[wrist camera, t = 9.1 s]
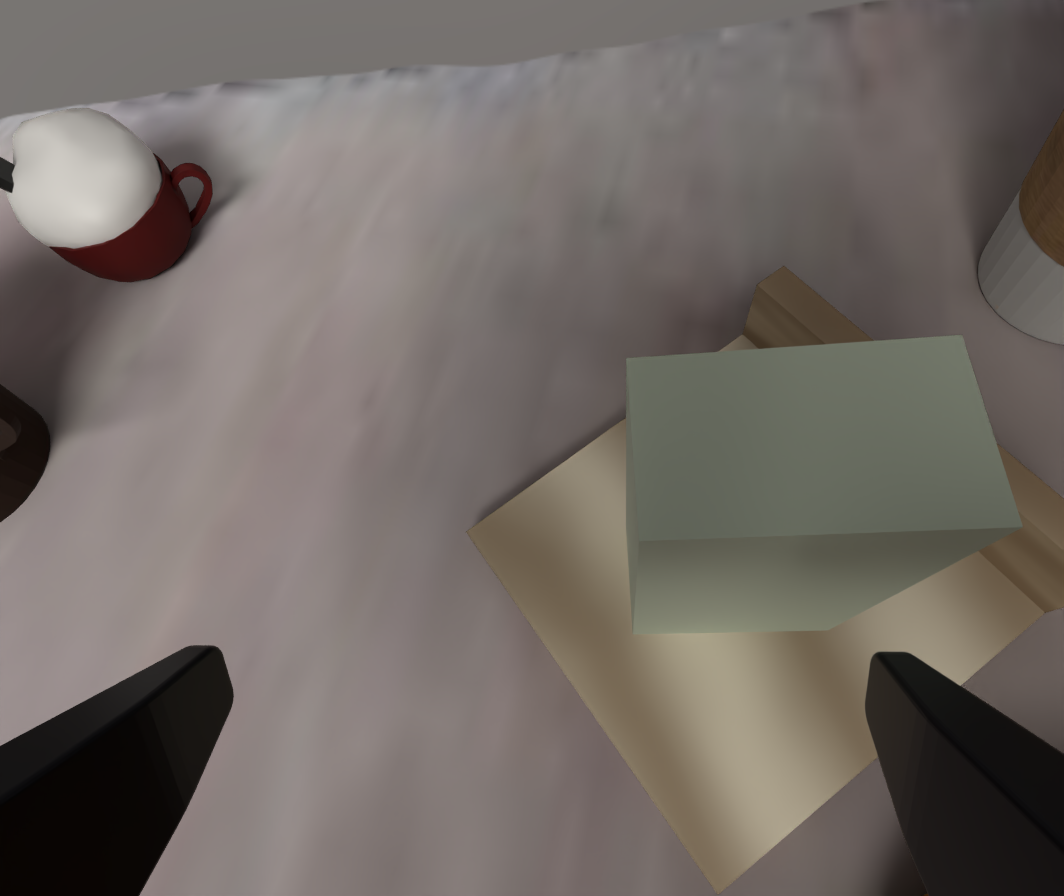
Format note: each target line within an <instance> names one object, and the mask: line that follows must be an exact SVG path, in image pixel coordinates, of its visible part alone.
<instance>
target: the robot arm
mask: <svg viewBox="0 0 1064 896" xmlns="http://www.w3.org/2000/svg"><path fill="white" fill-rule="evenodd" d="M233 697H234V695H233V687H232V684H231V681H230V677H229V674H228V670H227V667H226V664H225V660H224V657H223V654H222V651H221V650H220V649H219V648H218V647H216V646H212V645H193V646H188V647H185V648H183V649H181V650H180V651H178V652H176V653H174V654H172V655H170V656H168V657H166V658H165V659H163V660H161V661H159V662H157V663H155V664H153V665H151V666H150V667H148V668H146V669H144V670H142V671H140V672H138V673H136V674H134V675H133V676H131V677H129V678H127V679H125V680H123V681H121V682H119V683H118V684H116V685H114V686H112V687H110V688H108V689H106V690H104V691H103V692H101V693H99V694H97V695H95V696H93V697H91V698H89V699H88V700H86V701H84V702H82V703H80V704H78V705H76V706H74V707H73V708H71V709H69V710H67V711H65V712H63V713H61V714H59V715H58V716H56V717H54V718H52V719H50V720H48V721H46V722H44V723H42V724H41V725H39V726H37V727H35V728H33V729H31V730H29V731H27V732H26V733H24V734H22V735H20V736H18V737H16V738H14V739H12V740H11V741H9V742H7V743H5V744H3V745H1V746H0V896H139V895H140V893H141V892H142V890H143V888H144V886H145V884H146V882H147V881H148V879H149V877H150V875H151V873H152V872H153V870H154V868H155V866H156V864H157V863H158V861H159V859H160V857H161V855H162V854H163V852H164V850H165V848H166V846H167V844H168V843H169V841H170V839H171V837H172V835H173V834H174V832H175V830H176V828H177V826H178V824H179V822H180V821H181V819H182V817H183V815H184V813H185V811H186V809H187V807H188V805H189V803H190V800H191V798H192V796H193V794H194V792H195V790H196V788H197V785H198V783H199V781H200V778H201V776H202V774H203V772H204V769H205V767H206V765H207V762H208V760H209V758H210V756H211V753H212V751H213V749H214V747H215V744H216V742H217V740H218V737H219V735H220V733H221V731H222V728H223V726H224V724H225V721H226V719H227V717H228V715H229V712H230V710H231V707H232V704H233ZM865 714H866V720H867V723H868V726H869V730H870V733H871V736H872V739H873V742H874V745H875V748H876V752H877V755H878V758H879V761H880V764H881V767H882V771H883V774H884V777H885V780H886V783H887V786H888V789H889V793H890V796H891V799H892V802H893V805H894V808H895V811H896V815H897V818H898V821H899V824H900V827H901V830H902V833H903V835H904V838H905V841H906V844H907V846H908V848H909V851H910V853H911V856H912V858H913V861H914V863H915V865H916V868H917V870H918V872H919V875H920V877H921V879H922V881H923V884H924V886H925V888H926V890H927V893H928V895H929V896H1064V754H1063V753H1062V752H1060V751H1059V750H1057V749H1056V748H1054V747H1053V746H1051V745H1050V744H1048V743H1047V742H1045V741H1044V740H1042V739H1041V738H1039V737H1037V736H1036V735H1034V734H1033V733H1031V732H1030V731H1028V730H1027V729H1025V728H1024V727H1022V726H1021V725H1019V724H1018V723H1016V722H1015V721H1013V720H1012V719H1010V718H1009V717H1007V716H1006V715H1004V714H1002V713H1001V712H999V711H998V710H996V709H995V708H993V707H992V706H990V705H989V704H987V703H986V702H984V701H983V700H981V699H980V698H978V697H977V696H975V695H974V694H972V693H970V692H969V691H967V690H966V689H964V688H963V687H961V686H960V685H958V684H957V683H955V682H954V681H952V680H951V679H949V678H948V677H946V676H945V675H943V674H942V673H940V672H939V671H937V670H935V669H934V668H932V667H931V666H929V665H928V664H926V663H925V662H923V661H922V660H920V659H919V658H917V657H916V656H914V655H912V654H910V653H908V652H887V651H879V652H876V653H875V654H873V656H872V658H871V661H870V667H869V674H868V682H867V689H866V696H865Z"/></svg>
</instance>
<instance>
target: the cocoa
mask: <svg viewBox="0 0 1064 896" xmlns="http://www.w3.org/2000/svg"><path fill="white" fill-rule="evenodd" d="M12 137H13V164H12V163H10V162H8V161H7V160H5V159H3V158H1V157H0V188H1V189H3V190H5V193H6V195H7V197H8V199H9V202H10V204H11V206H12V209H13V211H14V213H15V215H16V218H17V220H18V222H19V223H20V224H21V225H22V226H23V227H24V228H25V229H26V230H27V231H28V232H29V233H30V234H31V235H32V236H34V237H35V238H36V239H38V240H39V241H40V242H42V243H43V244H44V245H46V246H48V247H50V248H51V249H52V250H53V251H55V252H56V253H57V254H59V255H60V256H61V257H62V258H64V259H65V260H66V261H68V262H70V263H71V264H73V265H75V266H77V267H79V268H80V269H82V270H84V271H86V272H88V273H91V274H93V275H95V276H97V277H100V278H105V279H109V280H114V281H119V282H134V281H139V280H144V279H149V278H152V277H154V276H155V275H157V274H159V273H161V272H162V271H164V270H166V269H168V268H169V267H171V266H172V264H173V263H174V262H175V261H176V260H177V259H178V258H179V257H180V256H181V255H182V254H183V252H184V251H185V249H186V246H187V243H188V241H189V238H190V235H191V229H192V228H193V227H195V226H196V225H197V224H198V223H199V221H200V220H201V218H202V217H203V215H204V214H205V213H206V211H207V209H208V206H209V204H210V201H211V198H212V182H211V179H210V177H209V175H208V174H207V172H206V171H205V170H204V169H203V168H202V167H200V166H198V165H195V164H193V163H184V164H180V165H179V166H177V167H176V168H174V169H173V170H172V172H170V170H169V169H168V168H167V166H166V165H165V164H164V162H163V161H162V160H161V159H160V158H159V157H158V156H156V155H155V154H154V153H153V152H152V151H151V150H150V149H149V148H148V147H147V146H146V145H145V144H144V143H143V142H142V141H141V140H140V139H139V138H138V137H137V136H136V135H135V134H134V133H133V132H131V131H130V130H129V129H128V128H127V127H125V126H124V125H123V124H121V123H120V122H118V121H117V120H116V119H114V118H113V117H111V116H110V115H109V114H106V113H102V112H99V111H96V110H93V109H89V108H72V109H67V110H61V111H57V112H53V113H49V114H45V115H42V116H39V117H36V118H33V119H30V120H27V121H24V122H22V123H21V124H20V126H19V127H18V129H17V130H16V132H15V133H14V135H13V136H12ZM190 176H193V177H196V178H199V179H200V180H201V181H202V182H203V184H204V190H203V192H202V194H201V197H200V199H199V201H198V203H197V205H196V207H195V208H194V209H193V210H192V211H191V212H190V213H189V208H188V205H187V202H186V200H185V197H184V195H183V193H182V191H181V189H180V187H179V185H178V184H179V182H180V181H181V180H182V179H183V178H184V177H190Z"/></svg>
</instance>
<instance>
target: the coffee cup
mask: <svg viewBox="0 0 1064 896" xmlns="http://www.w3.org/2000/svg"><path fill="white" fill-rule="evenodd" d="M978 279H979V283H980V287H981V290H982V292H983V294H984V296H985V298H986V300H987V302H988V303H989V304H990V305H991V307H992V308H993V309H994V311H995V312H996V313H997V314H998V315H1000V316H1001V317H1002V318H1003V319H1004V320H1005V321H1006V322H1007V323H1009V324H1011V325H1012V326H1014V327H1015V328H1017V329H1018V330H1020V331H1022V332H1024V333H1026V334H1028V335H1031V336H1033V337H1035V338H1037V339H1041V340H1044V341H1048V342H1051V343H1055V344H1061V345H1064V110H1063V112H1062V114H1061V115H1060V117H1059V119H1058V121H1057V122H1056V124H1055V126H1054V128H1053V130H1052V131H1051V133H1050V135H1049V137H1048V138H1047V140H1046V142H1045V144H1044V146H1043V147H1042V149H1041V151H1040V153H1039V154H1038V156H1037V158H1036V160H1035V161H1034V163H1033V165H1032V167H1031V169H1030V170H1029V172H1028V174H1027V176H1026V177H1025V179H1024V181H1023V184H1022V187H1021V189H1020V190H1019V192H1018V194H1017V195H1016V197H1015V199H1014V200H1013V202H1012V204H1011V205H1010V207H1009V208H1008V210H1007V212H1006V213H1005V215H1004V217H1003V218H1002V220H1001V222H1000V223H999V225H998V227H997V228H996V230H995V232H994V233H993V235H992V237H991V238H990V240H989V242H988V243H987V245H986V247H985V248H984V250H983V252H982V255H981V258H980V261H979V264H978Z"/></svg>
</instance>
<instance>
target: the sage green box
mask: <svg viewBox="0 0 1064 896" xmlns="http://www.w3.org/2000/svg"><path fill="white" fill-rule="evenodd" d="M1022 527H1023V525H1022V522H1021V519H1020V516H1019V513H1018V510H1017V507H1016V503H1015V500H1014V497H1013V494H1012V491H1011V488H1010V485H1009V481H1008V478H1007V475H1006V472H1005V469H1004V466H1003V462H1002V459H1001V456H1000V453H999V450H998V447H997V444H996V440H995V437H994V434H993V431H992V428H991V425H990V422H989V418H988V415H987V412H986V409H985V406H984V403H983V399H982V396H981V393H980V390H979V387H978V384H977V381H976V377H975V374H974V371H973V368H972V365H971V362H970V359H969V355H968V352H967V349H966V346H965V343H964V340H963V336H962V335H952V336H938V337H923V338H909V339H894V340H880V341H866V342H851V343H837V344H823V345H808V346H794V347H779V348H765V349H751V350H736V351H722V352H707V353H693V354H679V355H664V356H650V357H635V358H626V536H627V552H628V568H629V584H630V600H631V616H632V632H633V634H679V633H728V632H778V631H828V630H830V629H832V628H833V627H835V626H837V625H839V624H841V623H843V622H845V621H847V620H849V619H850V618H852V617H854V616H856V615H858V614H860V613H862V612H864V611H866V610H867V609H869V608H871V607H873V606H875V605H877V604H879V603H881V602H883V601H884V600H886V599H888V598H890V597H892V596H894V595H896V594H898V593H900V592H901V591H903V590H905V589H907V588H909V587H911V586H913V585H915V584H917V583H918V582H920V581H922V580H924V579H926V578H928V577H930V576H932V575H934V574H935V573H937V572H939V571H941V570H943V569H945V568H947V567H949V566H951V565H952V564H954V563H956V562H958V561H960V560H962V559H964V558H966V557H968V556H969V555H971V554H973V553H975V552H977V551H979V550H981V549H983V548H985V547H986V546H988V545H990V544H992V543H994V542H996V541H998V540H1000V539H1002V538H1003V537H1005V536H1007V535H1009V534H1011V533H1013V532H1015V531H1017V530H1019V529H1020V528H1022Z"/></svg>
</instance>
